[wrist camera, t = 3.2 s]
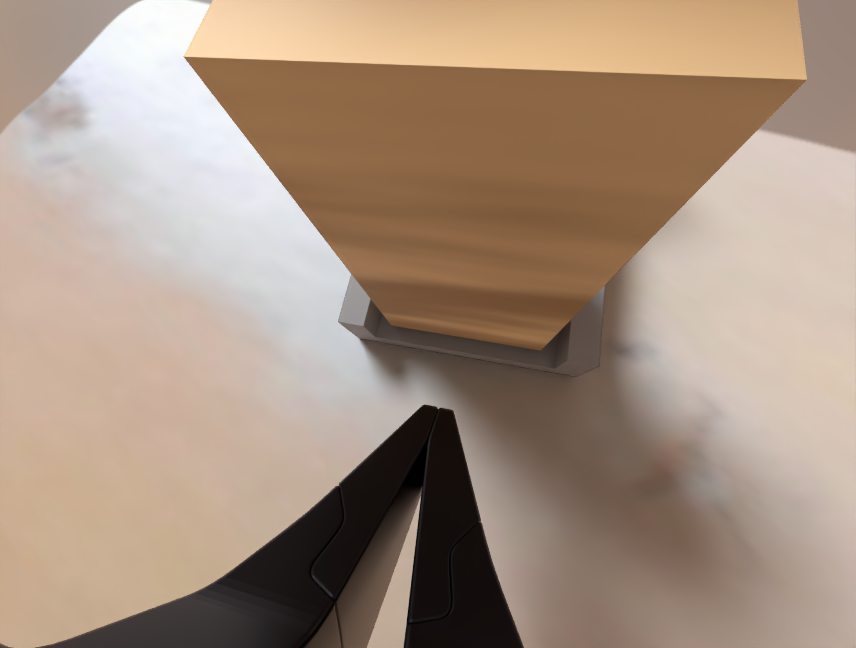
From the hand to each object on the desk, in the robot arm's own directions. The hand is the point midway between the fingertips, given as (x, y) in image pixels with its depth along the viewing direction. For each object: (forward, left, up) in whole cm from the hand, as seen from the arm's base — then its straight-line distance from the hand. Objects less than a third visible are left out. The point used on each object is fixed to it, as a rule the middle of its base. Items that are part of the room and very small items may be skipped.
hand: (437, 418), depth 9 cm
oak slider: (+4, -4, -6) cm, 8 cm away
